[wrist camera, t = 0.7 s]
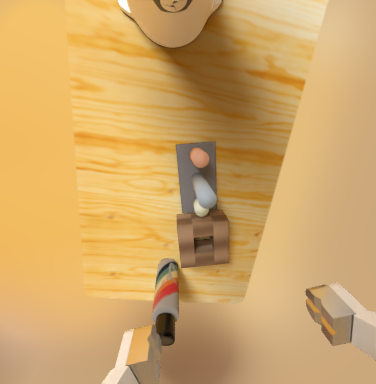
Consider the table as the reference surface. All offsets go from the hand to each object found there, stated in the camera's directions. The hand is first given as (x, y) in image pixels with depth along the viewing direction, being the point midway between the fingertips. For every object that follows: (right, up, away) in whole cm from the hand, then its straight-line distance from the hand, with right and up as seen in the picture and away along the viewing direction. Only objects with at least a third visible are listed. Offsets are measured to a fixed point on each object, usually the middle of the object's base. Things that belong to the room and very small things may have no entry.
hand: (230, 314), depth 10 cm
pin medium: (0, +15, +33) cm, 36 cm away
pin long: (0, +10, +35) cm, 36 cm away
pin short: (+1, +4, +37) cm, 37 cm away
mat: (0, +10, +35) cm, 36 cm away
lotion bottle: (-8, -15, +43) cm, 46 cm away
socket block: (+1, -4, +40) cm, 40 cm away
